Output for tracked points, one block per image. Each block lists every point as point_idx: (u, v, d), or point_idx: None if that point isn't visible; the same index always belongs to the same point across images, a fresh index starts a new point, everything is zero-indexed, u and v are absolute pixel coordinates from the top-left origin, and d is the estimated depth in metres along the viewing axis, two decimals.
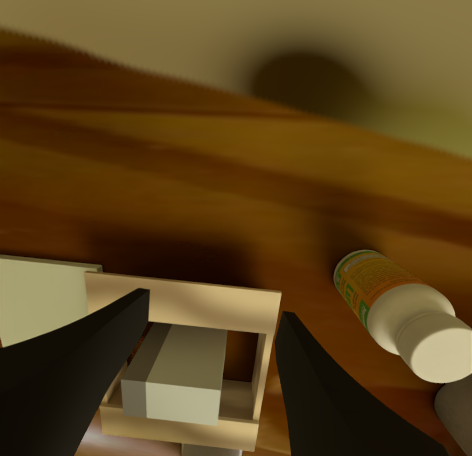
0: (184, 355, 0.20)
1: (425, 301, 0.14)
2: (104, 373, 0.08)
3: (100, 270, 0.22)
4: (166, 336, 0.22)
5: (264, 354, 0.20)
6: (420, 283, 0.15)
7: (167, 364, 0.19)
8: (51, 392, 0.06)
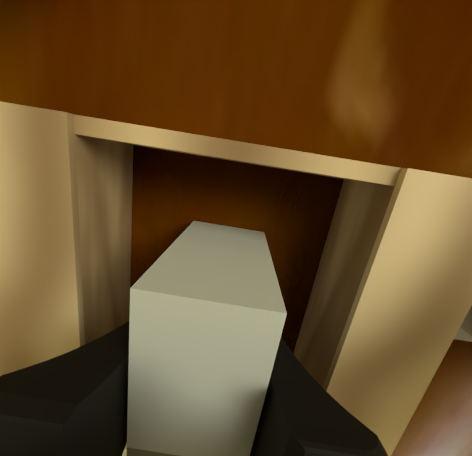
0: None
1: None
2: None
3: None
4: None
5: (149, 142, 0.07)
6: None
7: None
8: (108, 401, 0.06)
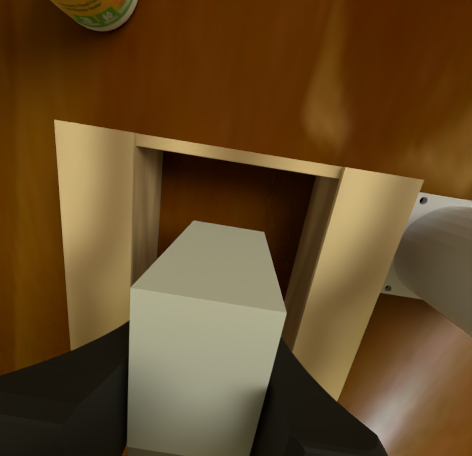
0: None
1: None
2: None
3: None
4: None
5: (183, 151, 0.12)
6: None
7: None
8: (108, 401, 0.06)
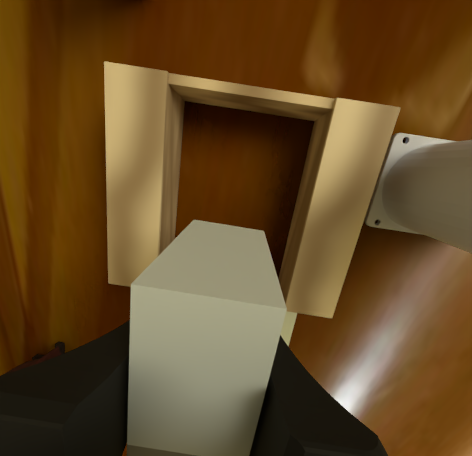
0: None
1: None
2: None
3: None
4: None
5: (206, 87, 0.14)
6: None
7: None
8: (108, 401, 0.06)
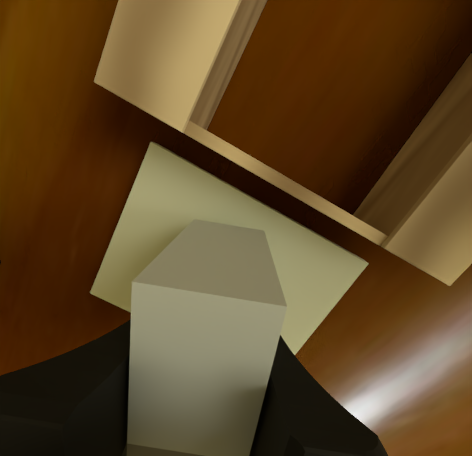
0: None
1: None
2: None
3: (160, 146, 0.14)
4: None
5: None
6: None
7: None
8: (108, 401, 0.06)
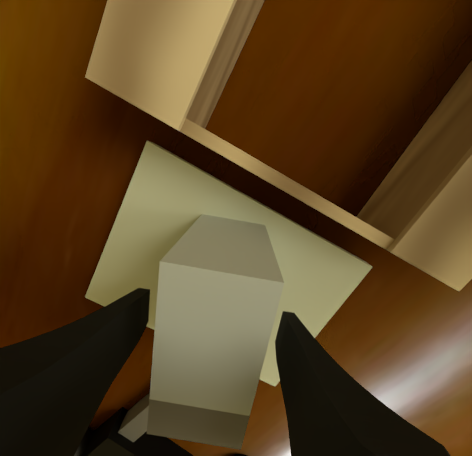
0: None
1: None
2: (104, 373, 0.08)
3: (157, 145, 0.13)
4: None
5: None
6: None
7: None
8: (51, 392, 0.06)
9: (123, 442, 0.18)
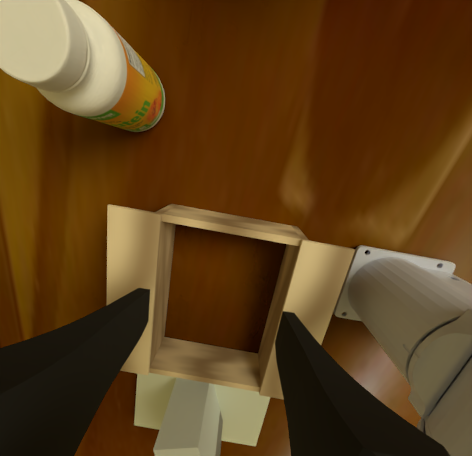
0: None
1: None
2: (104, 373, 0.08)
3: None
4: None
5: (193, 225, 0.17)
6: None
7: None
8: (51, 392, 0.06)
9: None
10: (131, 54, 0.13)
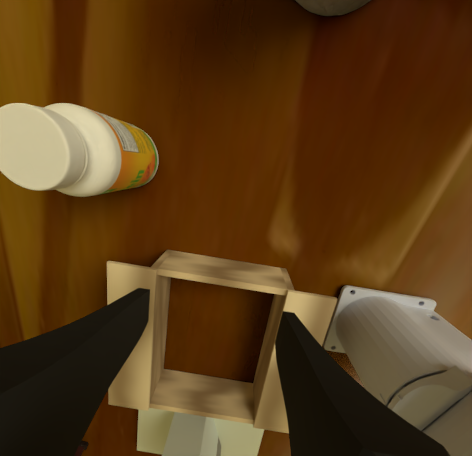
0: None
1: None
2: (104, 373, 0.08)
3: None
4: None
5: (187, 278, 0.18)
6: None
7: None
8: (51, 392, 0.06)
9: None
10: (125, 139, 0.14)
